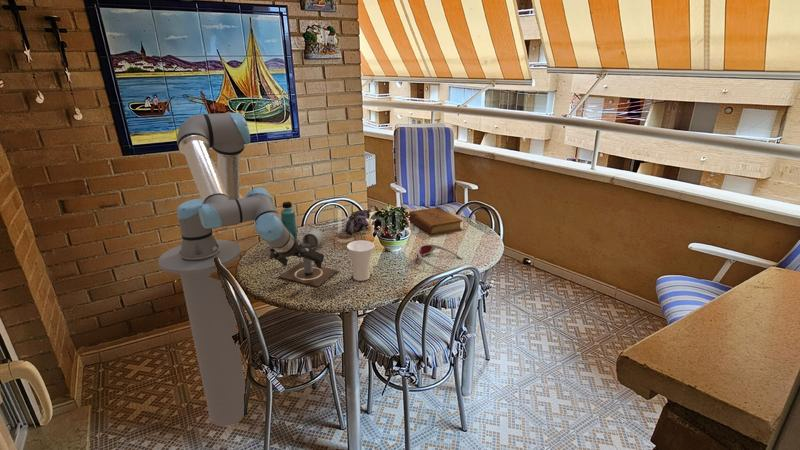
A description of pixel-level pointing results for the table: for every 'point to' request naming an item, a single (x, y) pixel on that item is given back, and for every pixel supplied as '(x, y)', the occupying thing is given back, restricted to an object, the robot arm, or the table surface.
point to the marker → (307, 263)
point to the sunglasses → (428, 249)
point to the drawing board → (313, 280)
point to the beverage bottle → (289, 218)
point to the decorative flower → (357, 221)
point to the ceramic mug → (313, 238)
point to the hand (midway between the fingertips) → (303, 264)
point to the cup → (360, 258)
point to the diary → (435, 221)
